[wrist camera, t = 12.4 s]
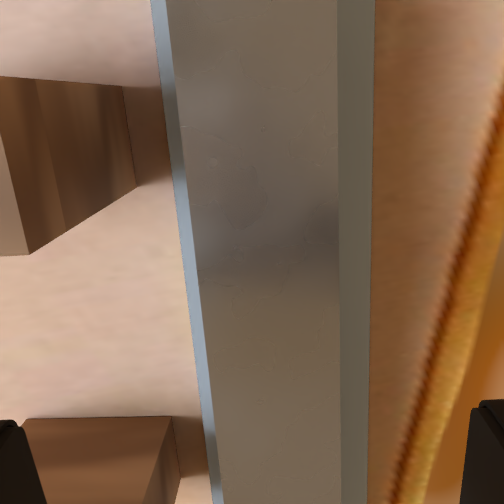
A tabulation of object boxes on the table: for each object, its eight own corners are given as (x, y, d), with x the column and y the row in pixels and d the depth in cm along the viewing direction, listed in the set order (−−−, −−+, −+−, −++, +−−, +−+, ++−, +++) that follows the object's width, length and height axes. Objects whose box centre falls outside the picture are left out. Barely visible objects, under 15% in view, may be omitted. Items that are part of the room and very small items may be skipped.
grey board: (153, -22, 15) (146, -28, 14) (370, -42, 14) (375, -50, 14) (220, 529, 22) (218, 544, 22) (363, 529, 22) (366, 544, 21)
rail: (192, 3, 14) (161, -32, 10) (320, -9, 14) (336, -49, 10) (244, 528, 21) (237, 621, 17) (330, 528, 21) (342, 622, 17)
